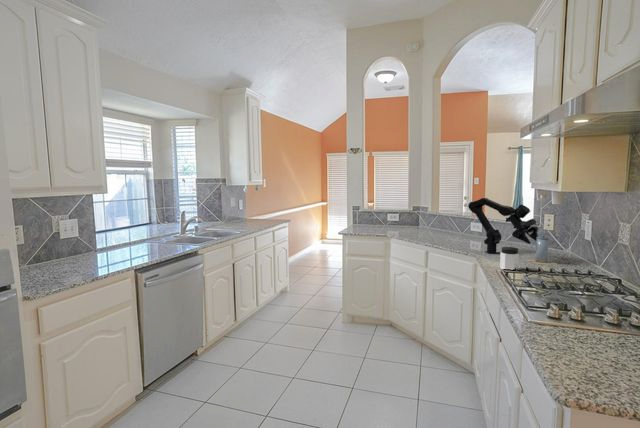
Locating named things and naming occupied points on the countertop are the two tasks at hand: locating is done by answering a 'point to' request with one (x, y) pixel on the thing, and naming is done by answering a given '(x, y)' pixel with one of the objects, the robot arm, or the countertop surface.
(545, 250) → the canister
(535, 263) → the coaster
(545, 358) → the countertop surface
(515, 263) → the jar
